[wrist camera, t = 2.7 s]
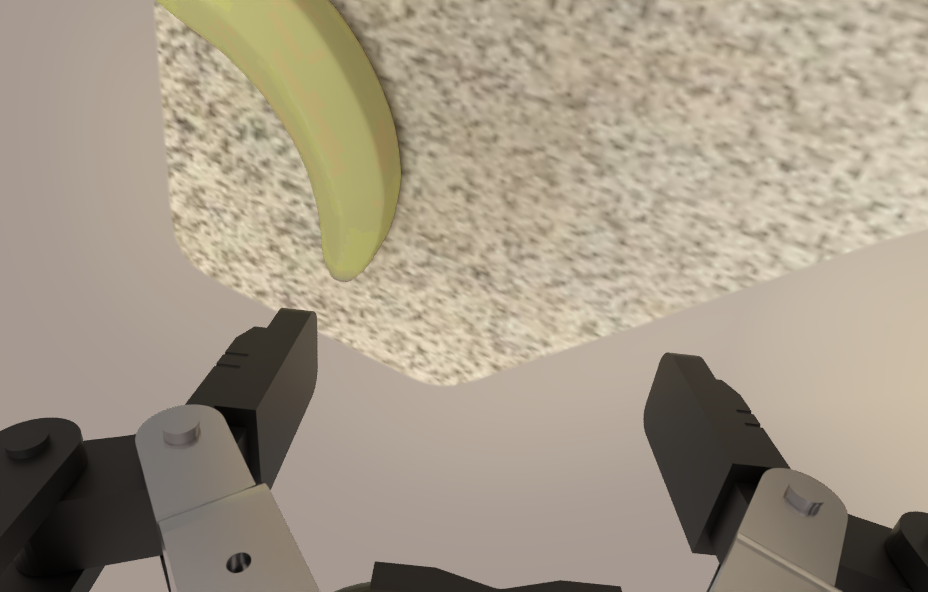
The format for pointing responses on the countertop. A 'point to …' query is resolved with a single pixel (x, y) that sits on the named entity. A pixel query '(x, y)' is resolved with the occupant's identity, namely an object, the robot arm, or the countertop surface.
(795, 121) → the countertop surface
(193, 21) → the banana
